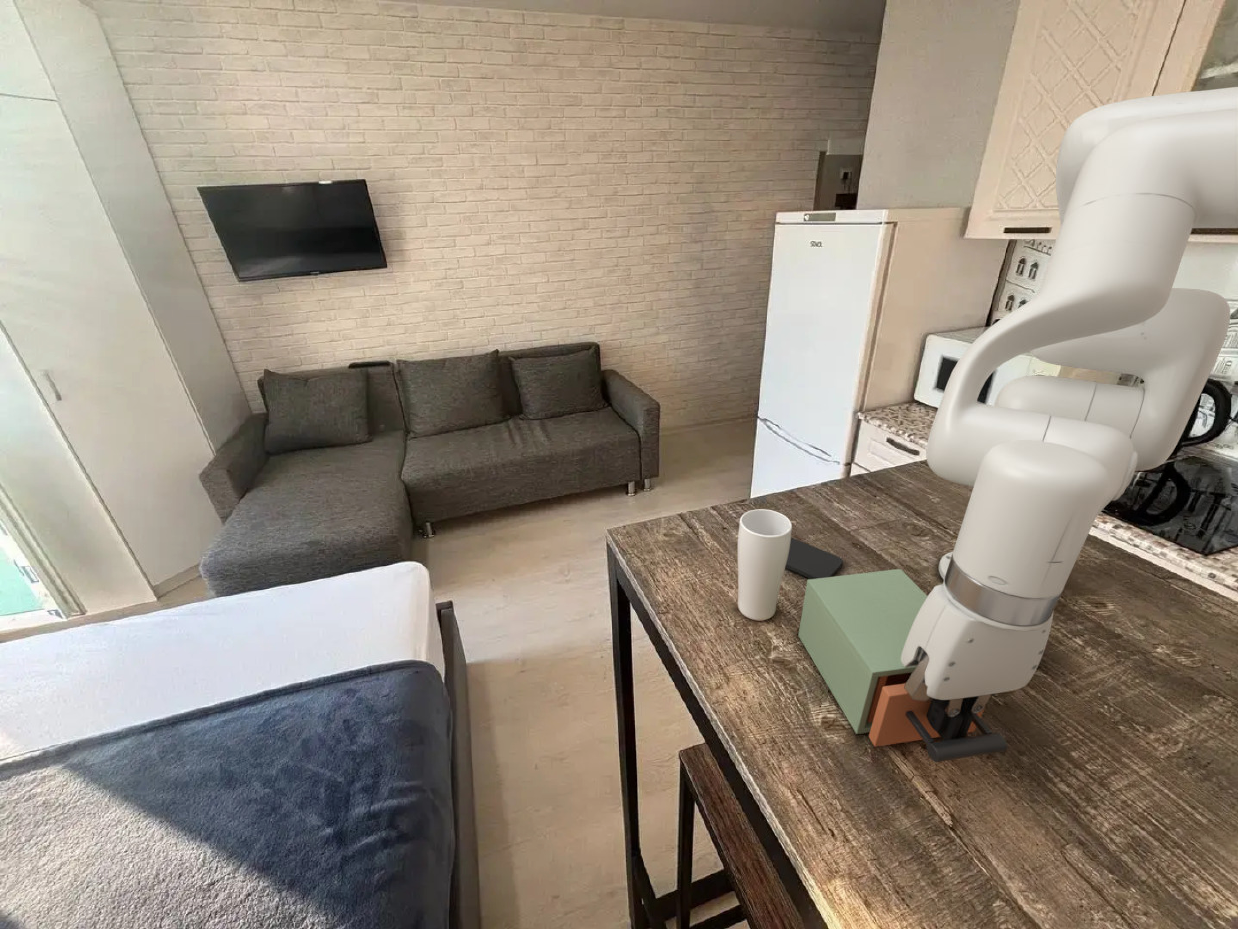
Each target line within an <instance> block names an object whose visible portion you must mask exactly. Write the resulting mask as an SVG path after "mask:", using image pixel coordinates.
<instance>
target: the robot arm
mask: <svg viewBox="0 0 1238 929" xmlns="http://www.w3.org/2000/svg"><path fill="white" fill-rule="evenodd" d="M1056 159H1057V160H1056V169H1055V192H1056V201H1057V207H1058V213H1059V215H1058V216H1059V222H1060V227H1059V230H1058V233H1057V236H1056V239H1055V241H1054V245H1053V248H1052V250H1051V253H1050V256H1049V259H1048V262H1047V264H1046V267H1045V270H1044V274H1043V276H1042V279H1041V282H1040V285H1039V287H1038V290H1037V292H1036V294H1035V295H1034V297H1033V298H1031V299H1030V300H1029V301H1028V302H1026V303H1025V304H1023V305H1021V306H1019V307H1017V308H1016V309H1015V310H1012V311H1011V312H1010V313H1008V314H1007V315H1005V316H1003V317H1002V318H1001V319H999V320H998V321H996V322H995V323H994V324H992V325H991V326H990V327H988V328H987V329H986V330H985V331H984V332H982V333H981V335H979V336H978V337H976V339H975V340H974V341H973V342H972V344H970V346H968V347H967V349H966V350H965V351H964V352H963V354H962V355H961V357H960V358H959V359H958V361H957V363H956V364H955V366H954V367H953V369H952V371H951V373H950V376H949V378H948V380H947V383H946V386H945V388H944V391H943V394H942V397H941V400H940V402H939V405H938V408H937V410H936V414H935V417H934V419H933V422H932V425H931V428H930V430H929V435H928V439H927V443H926V451H925V456H926V462H927V465H928V467H929V468H930V470H931V471H932V472H933V473H934V474H935V475H937V476H938V477H940V478H942V479H944V480H946V481H950V482H952V483H957V484H961V485H963V486H968V487H972V492H971V493H970V497H969V501H968V504H967V506H966V510H965V513H964V516H963V519H962V523H961V526H960V528H959V532H958V536H957V538H956V541H955V544H954V546H953V547H954V548H953V550H952V551H950V552H948V553H946V554H944V555H943V556H942V557H941V558H940V559H939V564H938V572H939V576H940V577H941V578H942V580H943V582H942V583H941V584H937V585H935V586H934V587H933V588H932V590H931V591H930V592H929V594H928V595H927V596H928V597H927V598H926V600H925V601H924V603H923V605H922V607H921V608H920V610H919V612H918V614H917V616H916V618H915V620H914V622H913V625H912V627H911V630H910V632H909V634H908V637H907V640H906V642H905V645H904V648H903V651H902V655H901V662H902V664H903V665H904V667H905V668H907V667H914V666H916V668H915V670H914V671H913V673H912V674H911V676H910V678H909V679H908V681H907V682H906V684H905V686H904V689H905V690H906V692H907V693H908V694H909V696H910V697H911V698H912V699H913V700H919V701H928V700H932V701H931V704H930V707H929V709H928V712H927V719H928V722H929V724H930V725H931V727H932V728H933V729H934V730H935V731H937V733H938V734H939V735H940V737H939V738H941V740H942V741H945V740H952V739H958V738H965V737H967V734H968V733H969V732H968V730H969V727H970V725H971V722H972V720H973V718H974V716H973V715H972V713H979V712H981V711H982V710H983V709H984V710H985V708H984V707H986V705H987V704H988V702H989V700H990V699H991V697H993V696H996V695H997V694H1000V693H1007V692H1012V691H1016V690H1020V689H1022V688H1025V687H1026V686H1027V685H1028V684H1029V683H1030V681H1031V680H1032V678H1033V676H1034V675H1035V673H1036V672H1037V669H1038V667H1039V665H1040V663H1041V660H1042V658H1043V655H1044V652H1045V649H1046V647H1047V643H1048V640H1049V637H1050V632H1051V629H1052V624H1053V619H1054V611H1055V608H1056V607H1057V604H1058V602H1059V600H1060V597H1061V596H1062V593H1063V591H1064V589H1065V585H1066V584H1067V581H1068V579H1069V577H1070V575H1071V573H1072V570H1073V568H1074V566H1075V564H1076V561H1077V560H1078V557H1079V555H1080V553H1081V551H1082V549H1083V547H1084V545H1085V542H1086V540H1087V538H1088V536H1089V533H1090V532H1091V529H1092V527H1093V524H1094V523H1095V520H1096V519H1097V517H1098V516H1099V514H1101V513H1102V511H1103V510H1104V509H1105V508H1106V507H1107V505H1109V503H1111V501H1117V500H1118V499H1119V498H1121V497H1122V495H1124V493H1125V490H1126V489H1127V487H1129V486H1130V484H1131V482H1132V480H1133V478H1134V476H1135V473H1136V471H1148V470H1153V469H1155V468H1158V467H1160V466H1161V465H1163V464H1164V463H1165V462H1166V461H1167V460H1168V459H1169V457H1170V456H1171V455H1172V453H1173V452H1174V450H1175V448H1176V446H1177V445H1178V443H1179V441H1180V439H1181V437H1182V435H1183V434H1184V431H1185V428H1186V426H1187V425H1188V422H1189V420H1190V417H1191V415H1192V414H1193V411H1194V410H1195V408H1196V406H1197V403H1198V400H1199V399H1200V396H1201V394H1202V392H1203V389H1204V387H1205V385H1206V383H1207V382H1208V379H1209V376H1210V375H1211V372H1212V370H1213V369H1214V366H1215V363H1216V362H1217V359H1218V358H1219V355H1220V353H1221V350H1222V347H1223V346H1224V343H1225V340H1226V338H1227V336H1228V335H1227V334H1228V331H1229V327H1230V323H1231V308H1230V307H1231V306H1230V305H1229V302H1228V301H1227V299H1226V298H1224V297H1223V296H1222V294H1221V295H1220V294H1219V293H1217V292H1213V291H1210V290H1206V289H1205V290H1204V289H1200V288H1185V287H1173V286H1174V283H1175V280H1176V277H1177V274H1178V271H1179V268H1180V265H1181V263H1182V259H1183V256H1184V253H1185V251H1186V249H1187V248H1186V247H1187V245H1188V243H1189V242H1188V241H1189V239H1190V237H1191V233H1192V230H1193V229H1238V86H1231V87H1224V88H1216V89H1215V88H1214V89H1205V90H1196V91H1183V92H1176V93H1174V92H1173V93H1167V94H1158V95H1151V96H1150V95H1149V96H1143V97H1137V98H1131V99H1125V100H1120V101H1117V102H1112V103H1108V104H1104V105H1101V106H1098V107H1096V108H1093V109H1091V110H1088V111H1086V112H1084V113H1082V114H1081V115H1080V116H1078V117H1076V118H1075V119H1074V120H1073V121H1072V122H1071V124H1070V125H1069V126H1068V127H1067V129H1066V130H1065V132H1064V134H1063V137H1062V140H1061V142H1060V145H1059V149H1058V152H1057V158H1056ZM1028 352H1031V353H1032V355H1033V357H1034V358H1036V359H1037V360H1038V361H1041V362H1044V363H1046V364H1049V365H1055V366H1061V367H1067V368H1073V369H1083V370H1089V371H1090V370H1091V371H1099V372H1107V373H1116V374H1122V375H1131V376H1136V377H1138V378H1140V379H1142V381H1144V385H1143V387H1137V386H1130V385H1123V384H1114V383H1106V382H1099V381H1095V380H1087V379H1080V378H1072V377H1064V376H1056V375H1045V374H1044V375H1043V374H1042V375H1037V374H1036V375H1035V374H1034V375H1025V376H1021V377H1017V378H1014V379H1012V380H1009V382H1007V383H1006V384H1004V386H1003V387H1002V388H1001V389H1000V390H999V392H998V394H997V396H996V399H995V402H994V404H986V403H979V402H978V398H979V395H980V393H981V391H982V389H983V387H984V385H985V383H986V381H987V380H988V379H989V377H990V376H991V375H992V373H994V372H995V371H996V370H997V369H998V368H999V367H1001V366H1002V365H1004V364H1005V363H1008V362H1009V361H1010V360H1012V359H1014V358H1017V357H1018V356H1021V355H1023V354H1025V353H1028ZM984 710H983V711H984ZM967 732H968V733H967Z"/></svg>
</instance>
